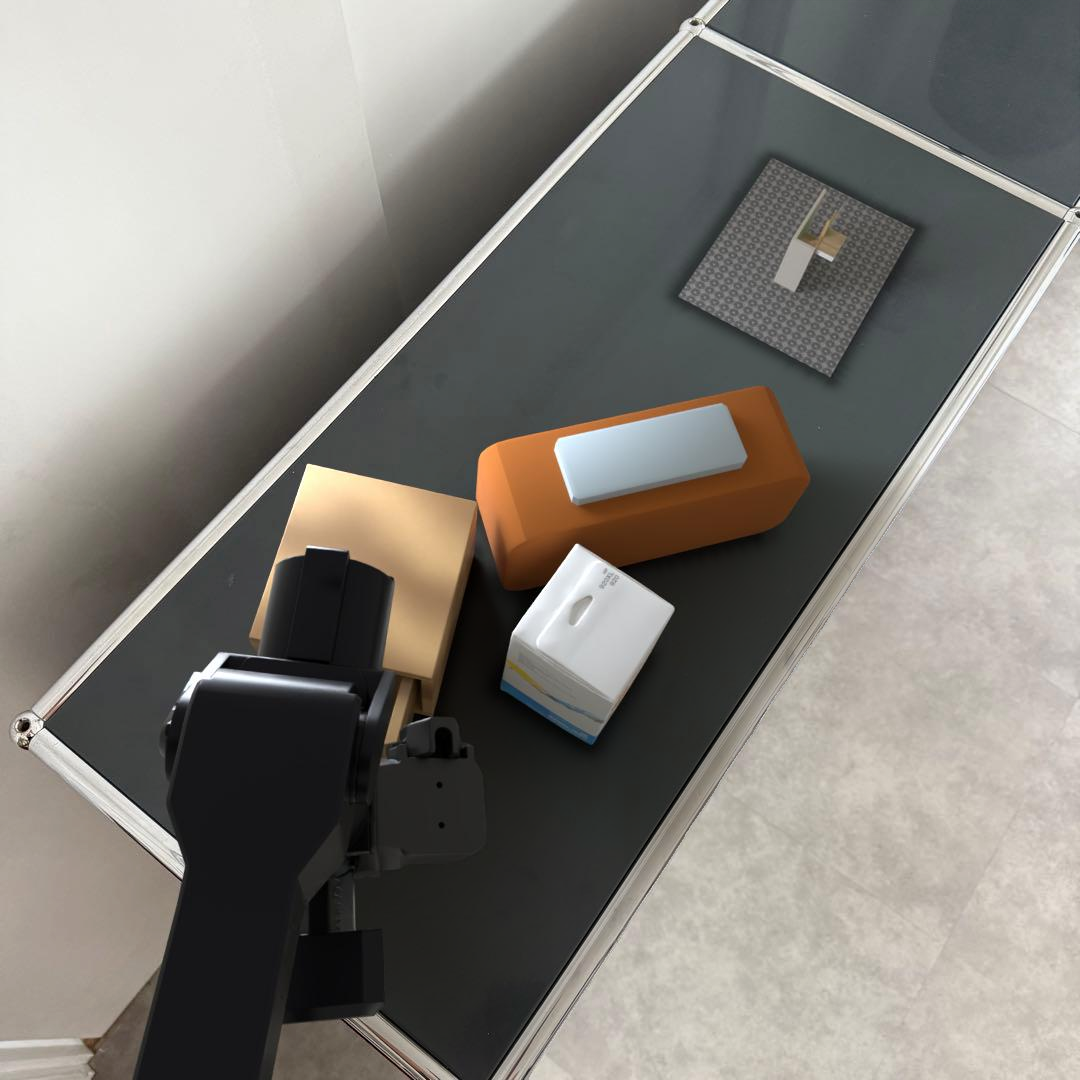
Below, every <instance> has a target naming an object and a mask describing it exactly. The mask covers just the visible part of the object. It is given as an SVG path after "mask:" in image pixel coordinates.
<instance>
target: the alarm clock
mask: <svg viewBox="0 0 1080 1080" xmlns="http://www.w3.org/2000/svg"><path fill="white" fill-rule="evenodd" d="M810 481H811V475H810V473H809V471H808V468H807V466H806V463H805V462H804V460H803V457H802V453H801V452H800V450H799V448H798V445H797V443H796V441H795V438H794V436H793V433H792V431H791V429H790V426H789V424H788V422H787V420H786V417H785V415H784V412H783V410H782V408H781V405H780V403H779V401H778V398H777V396H776V394H775V392H774V390H773V389H771V388H770V386H765V385H757V386H750V387H746V388H742V389H737V390H732V391H727V392H723V393H717V394H713V395H708V396H703V397H699V398H694V399H690V400H686V401H680V402H676V403H671V404H666V405H662V406H658V407H653V408H649V409H643V410H639V411H634V412H629V413H625V414H620V415H616V416H611V417H606V418H602V419H596V420H593V421H588V422H582V423H578V424H574V425H568V426H565V427H560V428H555V429H551V430H546V431H540V432H537V433H532V434H527V435H523V436H518V437H513V438H509V439H505V440H502V441H497V442H496V443H494V444H492V445H489V446H488V447H487V448H485V449H484V450H483V451H482V452H481V453H480V455H479V458H478V463H477V476H476V490H475V491H476V492H475V499H476V502H478V510H479V514H480V516H481V519H482V524H483V526H484V530H485V533H486V536H487V540H488V543H489V547H490V551H491V553H492V556H493V560H494V563H495V567H496V570H497V573H498V576H499V580H500V583H501V587H503V588H504V590H507V591H510V592H518V591H519V592H521V591H526V590H530V589H534V588H539V587H543V586H546V585H547V584H548V583H549V581H550V580H551V578H552V577H553V576H554V574H555V573H556V572H557V570H558V569H559V567H560V566H561V565H562V563H563V562H564V560H565V559H566V558H567V556H568V555H569V553H570V552H571V551H572V549H573V548H574V546H575V545H576V544H579V545H580V546H582V547H584V548H585V549H587V550H588V551H590V552H592V553H593V554H595V555H597V556H598V557H600V558H601V559H603V560H604V561H606V562H608V563H609V564H611V565H612V566H614V567H615V568H617V569H618V568H621V567H625V566H630V565H633V564H638V563H642V562H646V561H650V560H655V559H657V558H663V557H667V556H671V555H675V554H679V553H683V552H687V551H691V550H697V549H700V548H704V547H709V546H712V545H715V544H720V543H724V542H729V541H732V540H737V539H741V538H745V537H749V536H753V535H758V534H761V533H763V532H764V533H765V532H767V531H769V530H771V529H773V528H775V527H776V526H778V525H780V524H781V523H782V522H784V520H786V518H787V517H788V516H789V514H790V513H791V512H792V510H793V509H794V506H795V505H797V502H798V501H799V500H800V498H801V497H802V496H803V494H804V492H805V490H806V489H807V488H808V486H809V485H810Z"/></svg>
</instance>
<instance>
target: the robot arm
mask: <svg viewBox="0 0 1080 1080" xmlns="http://www.w3.org/2000/svg"><path fill="white" fill-rule="evenodd" d="M394 587H395V580H394V578H393V577H391V576H388V575H387V574H385V573H384V572H382V571H381V570H379V569H377V568H375V567H373V566H371V565H368V564H366V563H363V562H359V561H356V560H353V559H351V558H350V553H349V550H343V549H334V548H325V547H316V546H307V548H306V552H305V555H297V556H292V557H289V558H285V559H283V560H282V561H280V562H279V563H278V564H276V567H275V571H274V576H273V581H272V586H271V591H270V596H269V600H268V605H267V610H266V615H265V620H264V625H263V630H262V635H261V639H260V644H259V649H258V654H256V655H252V654H242V653H232V652H226V651H225V652H224V651H223V652H222V651H219V652H218V653H217V654H216V655H215V657H213V659H212V660H211V661H210V662H209V664H208V665H207V666H206V667H205V668H204V669H203V670H202V671H193V673H192V674H191V677H190V678H189V680H188V682H187V683H186V684H185V686H184V688H183V690H182V692H181V693H180V695H179V696H178V698H177V700H176V702H175V704H174V705H173V707H172V709H170V712H169V713H168V715H167V717H166V719H165V720H164V722H163V724H162V726H161V728H160V732H159V737H158V750H159V753H160V754H161V756H162V757H163V758H164V772H165V778H166V782H168V788H167V789H168V790H167V793H166V799H165V806H166V811H167V814H168V816H169V820H170V824H171V826H172V828H173V833H174V835H175V839H176V842H177V844H178V847H179V851H180V854H181V857H182V860H183V863H184V869H183V873H182V878H181V882H180V888H179V892H178V897H177V902H176V905H175V909H174V914H173V917H172V922H171V925H170V929H169V932H168V937H167V941H166V945H165V948H164V952H163V956H162V960H161V965H160V968H159V973H158V977H157V980H156V984H155V989H154V992H153V996H152V999H151V1004H150V1008H149V1012H148V1016H147V1019H146V1024H145V1029H144V1031H143V1034H142V1039H141V1044H140V1047H139V1051H138V1055H137V1059H136V1063H135V1067H134V1071H133V1074H132V1079H131V1080H273V1075H274V1070H275V1064H276V1059H277V1055H278V1050H279V1043H280V1039H281V1034H282V1033H281V1032H282V1028H283V1026H285V1025H295V1024H305V1023H318V1022H327V1021H328V1022H329V1021H338V1020H350V1019H360V1018H369V1017H370V1018H371V1017H375V1016H376V1015H377V1014H378V1013H379V1011H380V1010H382V1008H383V1007H384V1006H385V1004H386V984H385V983H386V981H385V980H386V979H385V947H384V933H383V929H382V928H380V927H379V928H357V927H356V926H357V925H356V880H355V879H369V878H380V877H382V871H392V870H400V869H402V868H403V867H404V865H427V864H429V865H431V864H440V865H449V864H453V863H456V862H458V861H460V860H462V859H465V858H466V857H469V856H471V855H473V854H475V853H477V852H478V851H480V850H481V849H482V848H483V847H484V845H485V843H486V840H487V822H486V808H485V807H486V806H485V794H484V779H483V773H482V770H481V768H480V767H479V765H478V764H477V763H476V762H475V751H474V750H475V749H474V745H471V743H466V742H462V740H461V738H460V729H459V725H458V723H457V722H458V721H457V720H456V719H455V718H454V717H452V716H432V717H431V716H428V717H427V718H423V719H420V720H416V721H414V722H413V721H412V723H410V724H408V725H406V726H405V727H404V728H403V729H402V730H401V731H400V732H399V735H400V742H391V743H388V744H387V758H381V757H382V752H383V748H384V743H385V738H386V734H387V729H388V724H389V719H390V712H391V705H392V698H393V692H394V685H395V677H396V671H389V670H382V665H383V659H384V652H385V646H386V639H387V633H388V626H389V620H390V613H391V607H392V600H393V594H394ZM332 879H334V880H335V881H339V882H337V883H334V888H337V889H339V890H337V891H335V892H334V896H336V897H339V898H337V899H334V904H337V905H339V906H337V907H335V908H334V912H336V913H339V914H338V915H335V916H334V920H336V921H340V922H338V923H336V924H334V927H332V926H331V925H332V919H331V917H332V916H331V915H332V914H331V913H332V910H331V908H332V907H331V880H332ZM306 906H307V907H308V908H307V917H308V918H307V927H308V928H307V930H304V931H301V928H302V924H303V920H304V916H305V915H304V914H305V910H306Z"/></svg>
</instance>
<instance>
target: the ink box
mask: <svg viewBox="0 0 1080 1080" xmlns="http://www.w3.org/2000/svg"><path fill="white" fill-rule="evenodd" d="M674 613H675V606H674V605H672V604H671V603H670V602H668V601H667V600H665V599H664V598H662V597H661V596H659V595H658V594H657V593H655V592H654V591H652V590H651V589H650V588H648V587H646V586H645V585H643V584H642V583H640V582H639V581H638V580H636V579H634V578H633V577H631V576H630V575H628V574H627V573H625V572H624V571H622V570H620V569H618V567H617V568H615V567H614V566H612V565H611V564H609V563H608V562H606V561H604V560H603V559H601V558H600V557H598V556H597V555H595V554H593V553H592V552H590V551H588V550H587V549H585V548H584V547H582V546H580V545H579V544H576V545H575V546H574V548H573V549H572V551H571V552H570V553H569V555H568V556H567V558H566V559H565V560H564V562H563V563H562V565H561V566H560V567H559V569H558V570H557V572H556V573H555V574H554V576H553V577H552V578H551V580H550V581H549V583H548V584H547V585H545V587H544V588H543V589H542V590H541V592H540V593H539V594H538V596H537V597H536V598H535V600H534V602H532V604H531V605H530V607H529V608H528V609H527V611H526V612H525V614H523V616H522V617H521V619H520V621H519V622H518V624H517V625H516V627H515V628H514V630H513V631H512V632H511V636H510V640H509V646H508V649H507V653H506V659H505V664H504V668H503V671H502V677H501V681H500V690H501V691H503V692H506V693H507V694H509V695H510V696H512V697H513V698H514V699H516V700H517V701H520V702H521V703H522V704H524V705H526V707H528V708H530V709H531V710H533V711H534V712H536V713H538V714H539V715H540V716H542V717H543V718H545V719H547V720H548V721H550V722H551V723H553V724H554V725H556V726H558V727H559V728H561V729H562V730H564V731H565V732H568V733H569V734H571V735H572V736H574V737H576V738H578V739H579V740H582V741H583V742H584V743H586V744H588V745H590V746H591V745H593V744H594V743H595V742H596V740H597V739H598V737H599V735H600V734H601V732H602V731H603V729H604V728H605V726H606V725H607V723H608V721H609V720H610V718H611V717H612V716H613V714H614V712H615V711H616V710H617V708H618V706H619V705H620V703H621V702H622V700H623V698H624V697H625V695H626V693H627V692H628V691H629V689H630V688H631V686H632V684H633V683H634V681H635V679H636V678H637V676H638V675H639V673H640V671H641V670H642V668H643V666H644V665H645V663H646V662H647V660H648V658H649V656H650V655H651V653H652V652H653V649H654V647H655V645H656V644H657V642H658V640H659V638H660V637H661V635H662V634H663V632H664V630H665V628H666V626H667V624H668V623H669V621H670V619H671V617H672V616H673V614H674Z"/></svg>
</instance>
